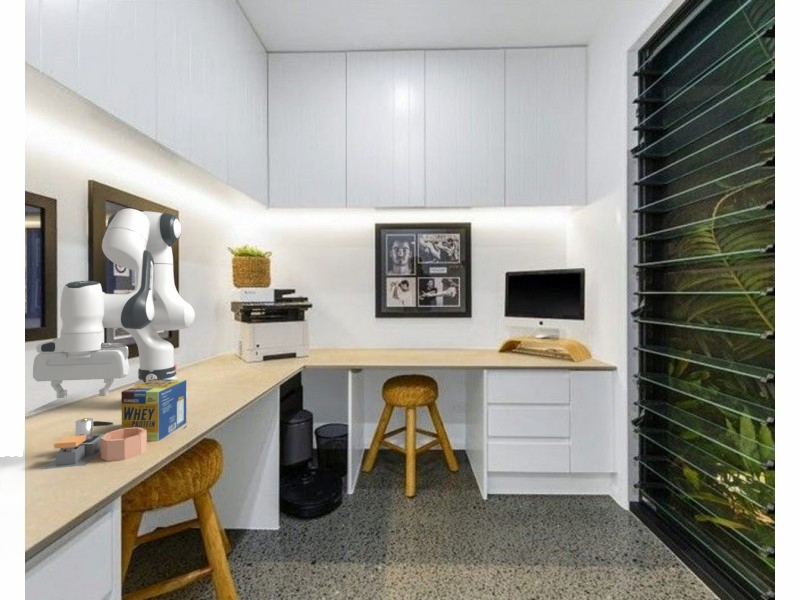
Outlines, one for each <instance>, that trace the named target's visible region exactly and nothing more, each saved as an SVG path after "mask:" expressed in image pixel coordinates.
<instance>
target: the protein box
mask: <svg viewBox="0 0 800 600" xmlns="http://www.w3.org/2000/svg"><path fill="white" fill-rule="evenodd" d="M186 392H187V379H179V380H176V379H153V380H150V381H148V382H145V383H142V384H140V385H137V386H135V387H134V386H133V387H130V388H128V389H125V390H122V391H121V395H120V396H121V398H120V399H121V403H120V404H121V429H122V428H134V427H140V428H143V429H146V430H147V442H159V441H161V440H162V439H164V438H166V437H167V436H168V435H171V433H173V432H175V431H176V430H177V429H179V428H180V427H182V426H183V425H185V424H186V423H187V399H186ZM186 428H187V425H185V426H184V427H183V429H182V430H184V429H186Z"/></svg>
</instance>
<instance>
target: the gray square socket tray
mask: <svg viewBox="0 0 800 600" xmlns="http://www.w3.org/2000/svg"><path fill="white" fill-rule="evenodd" d="M105 434H106V433H93V441H92V442H89V443H81V444H79V445H78V446H77V447H75V450H74V451H66V448H60V450H59V451H57V452H56V453H55V458H54V459H52V461H50V462H49V463H47V464H45V465H44V466H43V467H41V468H40V470H47V469H58V468H70V467H82V466H84V467H85V466H86V465H88V464H89V463H90V462H91V461H92V460H94V459H95V458H96V457H97V456H98V455H101V445H100V438H101V437H102V436H104V435H105Z"/></svg>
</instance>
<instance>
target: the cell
mask: <svg viewBox="0 0 800 600" xmlns="http://www.w3.org/2000/svg"><path fill="white" fill-rule="evenodd" d="M93 422H94V418H91V417H90V418H89V417H88V418H87V417H85V418H80V419H78V420H76V421H75V436H84V435H86V440H85V441H84V442H82V443H89V442H92V441H93V434H94V426H93Z"/></svg>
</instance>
